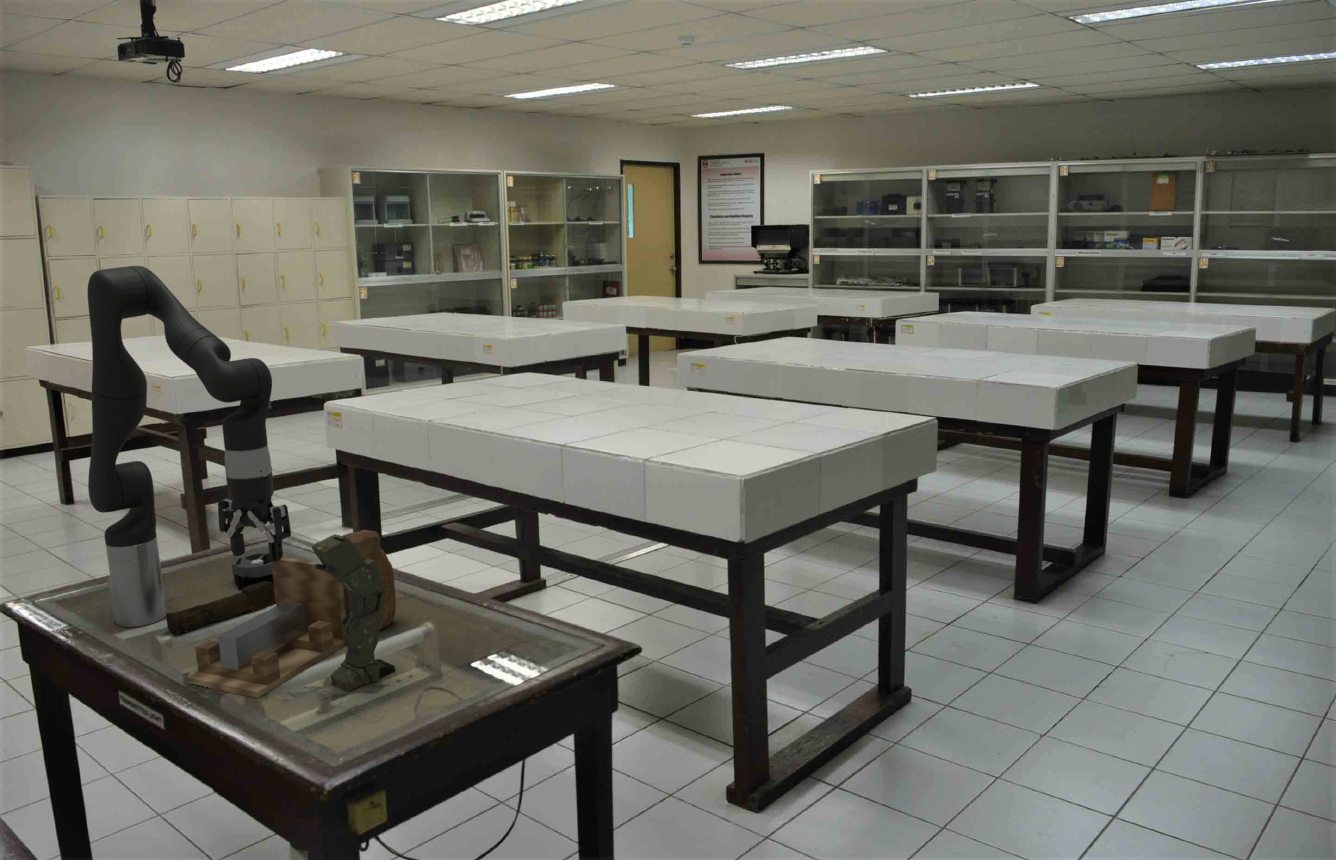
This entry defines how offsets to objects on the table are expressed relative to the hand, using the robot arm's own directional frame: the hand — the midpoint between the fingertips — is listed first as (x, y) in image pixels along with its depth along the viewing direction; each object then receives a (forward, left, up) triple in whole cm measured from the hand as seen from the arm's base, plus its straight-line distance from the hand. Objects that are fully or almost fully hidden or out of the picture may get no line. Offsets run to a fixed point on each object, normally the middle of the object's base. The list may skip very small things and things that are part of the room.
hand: (257, 557), depth 175 cm
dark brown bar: (-25, +15, -21) cm, 36 cm away
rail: (0, 0, -18) cm, 18 cm away
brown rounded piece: (+7, +20, -21) cm, 30 cm away
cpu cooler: (-34, +33, -21) cm, 52 cm away
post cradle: (0, 0, -21) cm, 21 cm away
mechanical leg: (+20, +1, -21) cm, 29 cm away
